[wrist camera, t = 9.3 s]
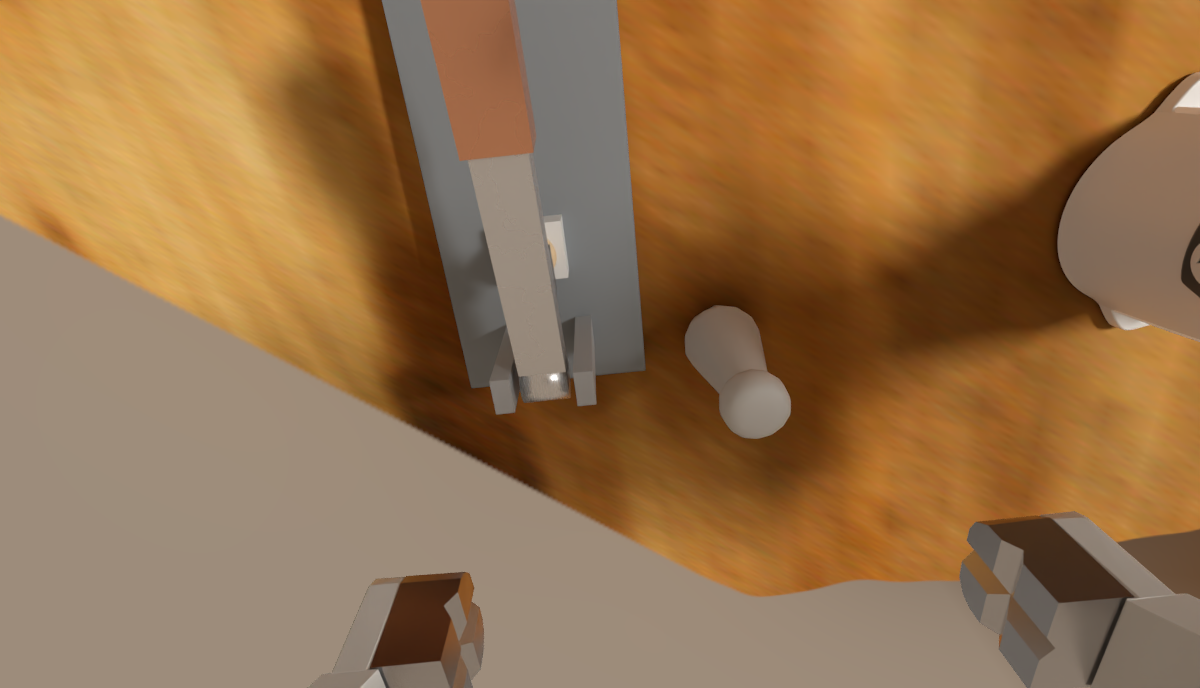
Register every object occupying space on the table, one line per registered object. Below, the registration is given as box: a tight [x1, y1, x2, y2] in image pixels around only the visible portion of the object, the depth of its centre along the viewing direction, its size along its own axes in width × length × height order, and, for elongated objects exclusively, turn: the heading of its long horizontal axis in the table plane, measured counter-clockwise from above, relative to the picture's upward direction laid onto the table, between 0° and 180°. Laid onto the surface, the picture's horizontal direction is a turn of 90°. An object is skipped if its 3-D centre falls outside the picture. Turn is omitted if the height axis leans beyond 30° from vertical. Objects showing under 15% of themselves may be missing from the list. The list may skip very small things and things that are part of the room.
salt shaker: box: [685, 305, 791, 439], centre depth 40 cm, size 6×6×13 cm
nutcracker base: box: [382, 0, 646, 415], centre depth 36 cm, size 28×14×11 cm, turn 6°
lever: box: [420, 0, 571, 403], centre depth 31 cm, size 26×4×4 cm, turn 6°
